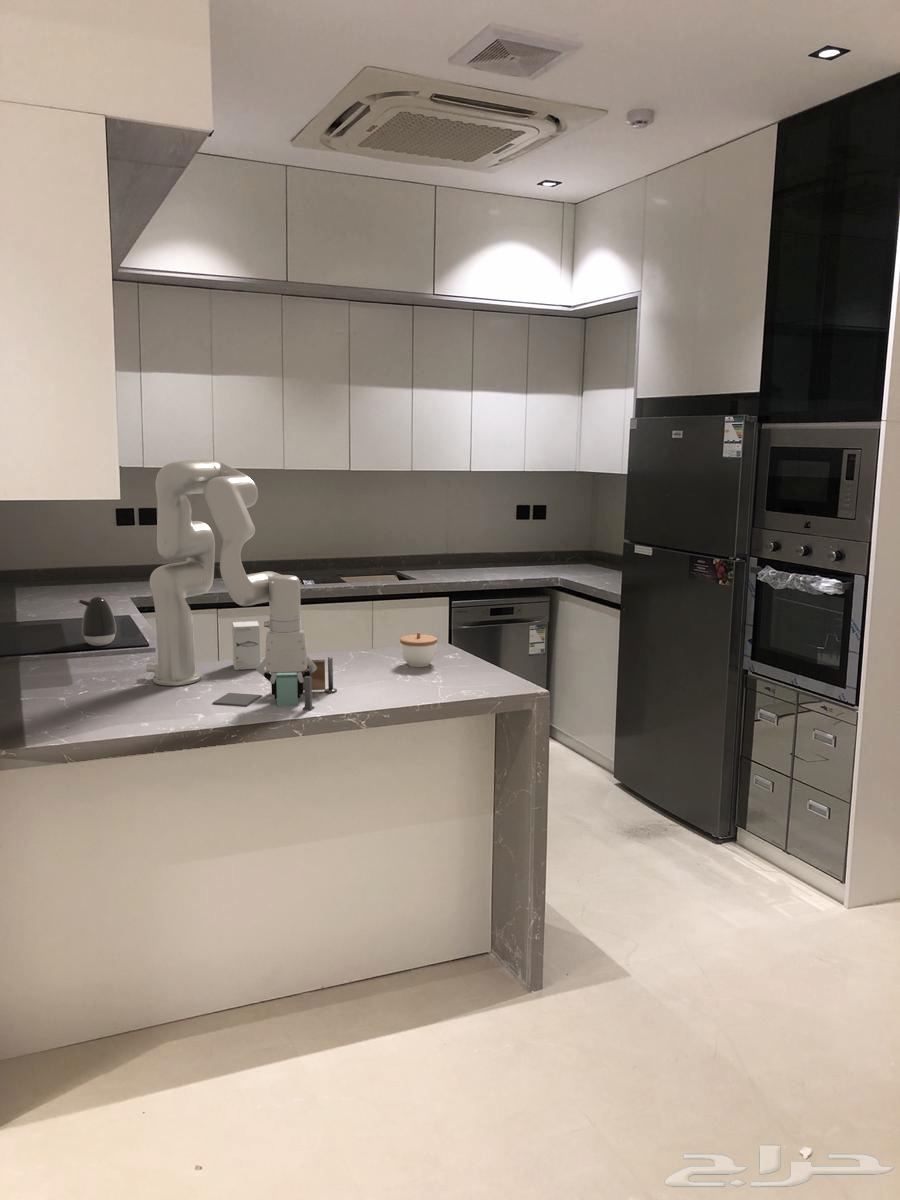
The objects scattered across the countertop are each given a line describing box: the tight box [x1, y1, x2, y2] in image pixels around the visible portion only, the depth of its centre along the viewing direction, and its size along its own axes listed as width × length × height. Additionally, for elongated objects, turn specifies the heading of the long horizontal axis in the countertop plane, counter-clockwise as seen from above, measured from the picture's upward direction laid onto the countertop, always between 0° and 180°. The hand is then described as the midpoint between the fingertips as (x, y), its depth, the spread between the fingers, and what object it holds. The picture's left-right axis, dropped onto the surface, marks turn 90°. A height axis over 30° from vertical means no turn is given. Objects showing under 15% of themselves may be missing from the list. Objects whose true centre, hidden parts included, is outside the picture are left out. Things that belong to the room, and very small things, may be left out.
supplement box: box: [231, 620, 261, 671], centre depth 271 cm, size 7×7×13 cm
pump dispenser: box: [79, 596, 117, 647], centre depth 299 cm, size 10×10×15 cm
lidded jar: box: [399, 632, 438, 668], centre depth 275 cm, size 11×11×9 cm
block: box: [276, 673, 299, 707], centre depth 237 cm, size 5×5×7 cm
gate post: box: [324, 656, 338, 694], centre depth 246 cm, size 3×3×9 cm
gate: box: [270, 659, 326, 692], centre depth 245 cm, size 2×14×8 cm, turn 97°
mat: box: [212, 692, 263, 707], centre depth 239 cm, size 9×9×1 cm
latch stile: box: [302, 676, 315, 711], centre depth 231 cm, size 2×2×8 cm
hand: (287, 696), depth 237 cm, fingers closed on block, 5 cm apart
